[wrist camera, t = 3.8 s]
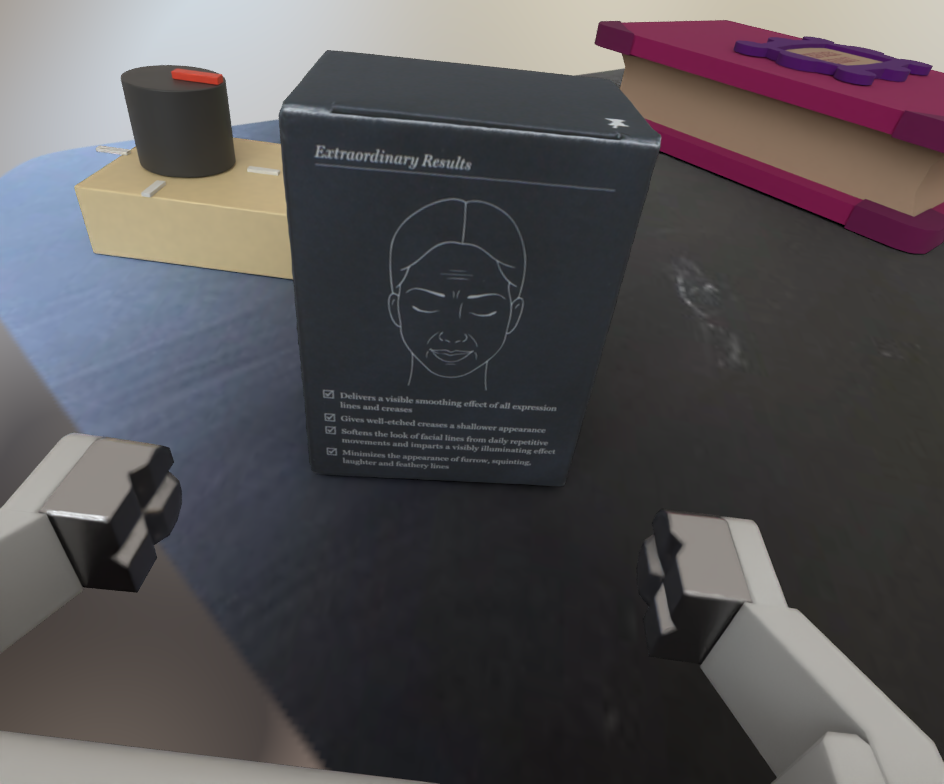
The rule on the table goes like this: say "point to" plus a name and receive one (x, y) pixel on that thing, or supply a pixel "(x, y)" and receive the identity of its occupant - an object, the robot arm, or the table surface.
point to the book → (796, 120)
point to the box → (455, 261)
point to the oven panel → (193, 213)
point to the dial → (180, 120)
